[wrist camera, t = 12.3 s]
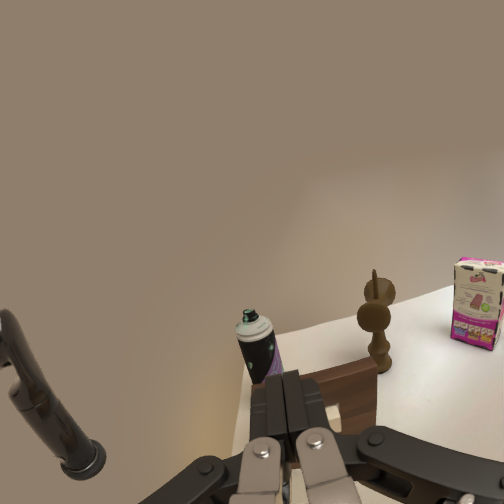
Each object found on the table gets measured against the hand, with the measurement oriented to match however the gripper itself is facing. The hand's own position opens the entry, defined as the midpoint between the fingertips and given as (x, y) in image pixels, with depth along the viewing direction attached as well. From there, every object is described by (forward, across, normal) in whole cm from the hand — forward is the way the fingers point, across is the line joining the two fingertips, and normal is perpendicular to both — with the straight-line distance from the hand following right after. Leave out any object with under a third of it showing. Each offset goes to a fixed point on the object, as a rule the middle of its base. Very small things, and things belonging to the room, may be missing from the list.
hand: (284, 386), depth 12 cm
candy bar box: (+26, -37, +28) cm, 54 cm away
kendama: (+30, -16, +28) cm, 44 cm away
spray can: (+26, +4, +28) cm, 39 cm away
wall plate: (+16, -2, +28) cm, 32 cm away
